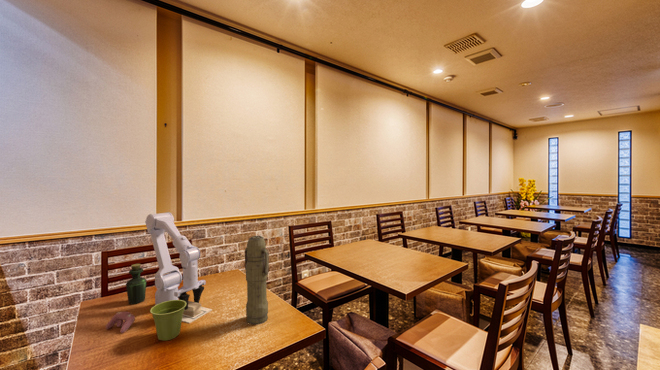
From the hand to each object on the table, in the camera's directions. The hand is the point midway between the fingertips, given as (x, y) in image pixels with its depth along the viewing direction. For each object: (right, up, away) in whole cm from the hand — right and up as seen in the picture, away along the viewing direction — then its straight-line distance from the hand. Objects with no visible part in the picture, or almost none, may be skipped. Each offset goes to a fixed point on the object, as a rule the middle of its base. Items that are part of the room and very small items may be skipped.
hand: (191, 306), depth 119 cm
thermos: (+30, -4, -5) cm, 31 cm away
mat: (0, -3, 0) cm, 3 cm away
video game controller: (-23, -4, -11) cm, 25 cm away
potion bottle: (-33, -4, +12) cm, 35 cm away
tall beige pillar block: (0, -3, 0) cm, 3 cm away
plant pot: (0, -4, -16) cm, 17 cm away
